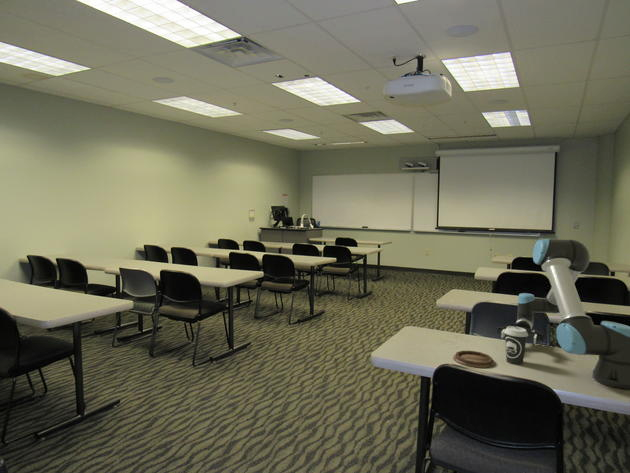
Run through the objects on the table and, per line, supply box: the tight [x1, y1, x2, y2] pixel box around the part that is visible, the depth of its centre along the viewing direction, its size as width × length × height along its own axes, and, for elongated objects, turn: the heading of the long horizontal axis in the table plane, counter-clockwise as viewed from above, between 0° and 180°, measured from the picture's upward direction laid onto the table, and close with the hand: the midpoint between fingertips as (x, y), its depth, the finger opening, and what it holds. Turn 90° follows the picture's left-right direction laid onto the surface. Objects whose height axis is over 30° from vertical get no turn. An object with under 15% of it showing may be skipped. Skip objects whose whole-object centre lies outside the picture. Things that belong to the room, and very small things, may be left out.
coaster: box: [453, 350, 495, 369], centre depth 179 cm, size 17×17×2 cm
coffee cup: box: [504, 326, 529, 366], centre depth 178 cm, size 10×10×15 cm
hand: (518, 337), depth 186 cm, fingers open, 13 cm apart
